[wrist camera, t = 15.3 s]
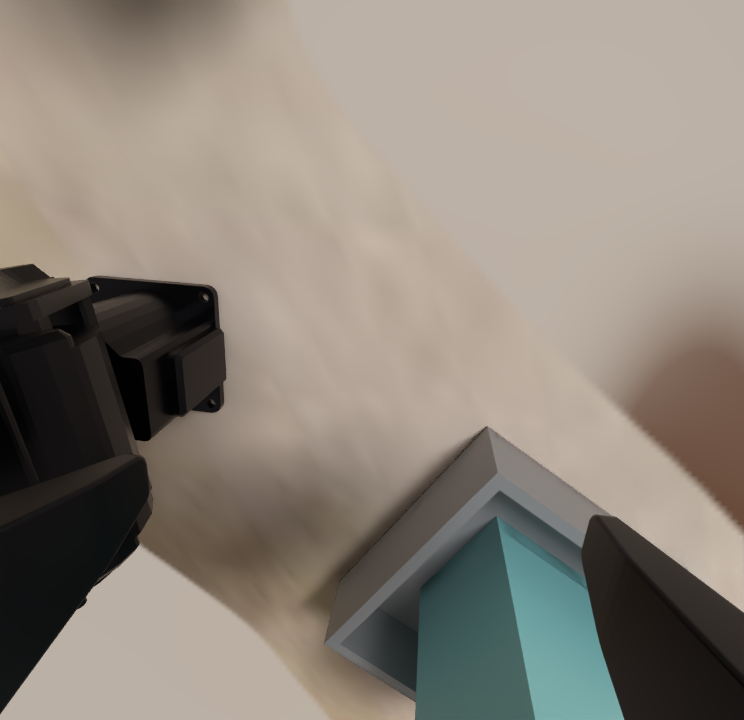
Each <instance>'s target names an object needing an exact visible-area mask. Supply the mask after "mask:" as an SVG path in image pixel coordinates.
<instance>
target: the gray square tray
mask: <svg viewBox="0 0 744 720" xmlns="http://www.w3.org/2000/svg"><path fill="white" fill-rule="evenodd" d="M595 514H599V515H607V516H611V515H610V514H609V513H607V512H606V511H604V510H603V509H602V508H600V507H599V506H598V505H596V504H595V503H593V502H592V501H591V500H589V499H588V498H586V497H585V496H584V495H582V494H581V493H579V492H578V491H577V490H575V489H574V488H573V487H571V486H570V485H568V484H567V483H566V482H564V481H563V480H561V479H560V478H559V477H557V476H556V475H554V474H553V473H552V472H550V471H549V470H548V469H546V468H545V467H543V466H542V465H541V464H539V463H538V462H536V461H535V460H534V459H532V458H531V457H529V456H528V455H527V454H525V453H524V452H523V451H521V450H520V449H518V448H517V447H516V446H514V445H513V444H511V443H510V442H509V441H507V440H506V439H504V438H503V437H502V436H500V435H499V434H498V433H496V432H495V431H493V430H492V429H491V428H489V427H488V426H487V427H486V428H485V429H484V430H483V432H482V433H481V434H480V435H479V436H478V437H477V438H476V439H475V440H474V441H473V442H472V443H471V444H470V445H469V446H468V447H467V448H466V449H465V450H464V451H463V453H462V454H461V455H460V456H459V457H458V458H457V459H456V460H455V461H454V462H453V463H452V464H451V465H450V466H449V467H448V468H447V469H446V470H445V471H444V472H443V474H442V475H441V476H440V477H439V478H438V479H437V480H436V481H435V482H434V483H433V484H432V485H431V486H430V487H429V488H428V489H427V490H426V491H425V492H424V493H423V495H422V496H421V497H420V498H419V499H418V500H417V501H416V502H415V503H414V504H413V505H412V506H411V507H410V508H409V509H408V510H407V511H406V512H405V513H404V514H403V516H402V517H401V518H400V519H399V520H398V521H397V522H396V523H395V524H394V525H393V526H392V527H391V528H390V529H389V530H388V531H387V532H386V533H385V534H384V535H383V537H382V538H381V539H380V540H379V541H378V542H377V543H376V544H375V545H374V546H373V547H372V548H371V549H370V550H369V551H368V552H367V553H366V554H365V555H364V556H363V558H362V559H361V560H360V561H359V562H358V563H357V564H356V565H355V566H354V567H353V568H352V569H351V570H350V571H349V572H348V573H347V574H346V575H345V576H344V577H343V579H342V580H341V581H340V582H339V585H338V589H337V593H336V597H335V601H334V605H333V609H332V613H331V617H330V621H329V625H328V629H327V633H326V637H325V641H324V645H326V646H328V647H329V648H331V649H332V650H334V651H335V652H337V653H339V654H340V655H342V656H343V657H345V658H347V659H348V660H350V661H351V662H353V663H354V664H356V665H358V666H359V667H361V668H362V669H364V670H365V671H367V672H369V673H370V674H372V675H373V676H375V677H376V678H378V679H380V680H381V681H383V682H384V683H386V684H388V685H389V686H391V687H392V688H394V689H395V690H397V691H399V692H400V693H402V694H403V695H405V696H406V697H408V698H410V699H411V700H413V701H414V702H416V684H417V659H418V633H419V607H420V588H421V587H422V586H423V585H424V584H425V583H426V582H427V581H428V580H429V579H430V578H431V577H432V576H434V575H435V574H436V573H437V572H438V571H439V570H440V569H441V568H442V567H443V566H444V565H445V564H446V563H447V562H448V561H449V560H450V559H452V558H453V557H454V556H455V555H456V554H457V553H458V552H459V551H460V550H461V549H462V548H463V547H464V546H465V545H466V544H467V543H468V542H470V541H471V540H472V539H473V538H474V537H475V536H476V535H477V534H478V533H479V532H480V531H481V530H482V529H483V528H484V527H485V526H486V525H488V524H489V523H490V522H491V521H492V520H493V519H494V518H495V517H496V516H497V517H499V518H500V519H502V520H503V521H505V522H506V523H507V524H509V525H510V526H512V527H513V528H515V529H516V530H518V531H519V532H520V533H522V534H523V535H525V536H526V537H528V538H529V539H531V540H532V541H533V542H535V543H536V544H538V545H539V546H541V547H542V548H544V549H545V550H546V551H548V552H549V553H551V554H552V555H554V556H555V557H556V558H558V559H559V560H561V561H562V562H564V563H565V564H567V565H568V566H569V567H571V568H572V569H574V570H575V571H577V572H578V573H580V574H581V575H582V576H584V577H585V575H584V570H583V565H582V559H581V551H582V546H583V542H584V538H585V534H586V531H587V527H588V523H589V520H590V518H591V516H593V515H595Z"/></svg>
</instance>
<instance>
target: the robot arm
mask: <svg viewBox="0 0 744 720" xmlns="http://www.w3.org/2000/svg"><path fill="white" fill-rule="evenodd" d="M95 283H97V284H98V286H99V290H97V289H96V287H95ZM203 292H206V293H207V294H208V296H209V300H205V299H204V298H203ZM225 380H226V364H225V346H224V333H223V332H222V330H221V329H220V324H219V307H218V295H217V292H216V290H215V289H214V288H213V287H212V286H209V285H203V284H191V283H179V282H168V281H156V280H144V279H132V278H120V277H109V276H93V277H89V278H88V279H86V280H78V281H70V278H54V277H49V276H48V275H47V274H45V273H44V272H43V271H41V270H40V269H39V268H37V267H36V266H35V265H33V264H28V265H18V266H12V267H6V268H0V714H1V712H2V711H3V710H4V708H5V707H6V706H7V704H8V703H9V701H10V700H11V698H12V697H13V696H14V695H15V693H16V692H17V690H18V689H19V688H20V686H21V685H22V684H23V682H24V681H25V680H26V678H27V677H28V675H29V674H30V673H31V671H32V670H33V669H34V667H35V666H36V664H37V663H38V662H39V660H40V659H41V657H42V656H43V655H44V653H45V652H46V651H47V649H48V648H49V647H50V645H51V644H52V643H53V641H54V640H55V638H56V637H57V636H58V634H59V633H60V632H61V630H62V629H63V627H64V626H65V625H66V623H67V622H68V621H69V619H70V618H71V617H72V615H73V614H74V612H75V611H76V610H77V609H79V608H81V607H82V606H84V604H85V603H86V601H87V599H86V596H87V595H88V593H89V592H90V591H91V589H92V588H93V587H94V586H96V585H97V584H98V583H100V582H101V581H102V580H103V579H104V578H106V577H107V576H108V575H109V574H110V573H111V572H112V571H113V570H115V569H116V568H117V567H119V566H120V565H121V564H122V563H123V562H124V561H125V560H126V559H127V558H128V557H129V556H130V555H131V554H132V553H133V552H134V551H135V550H136V548H137V547H138V546H139V538H138V535H139V534H140V532H141V531H142V529H143V527H144V526H145V524H146V522H147V521H148V519H149V517H150V516H151V514H152V505H153V497H152V494H151V488H152V486H151V483H150V479H149V476H148V471H147V463H146V460H145V458H144V457H142V456H140V455H139V452H138V448H137V445H136V442H135V440H140V441H149V440H150V439H151V438H152V437H153V436H154V435H156V434H157V433H158V432H159V431H160V430H161V429H163V428H164V427H165V426H166V425H167V424H168V423H170V422H171V421H172V420H173V419H174V418H175V417H177V416H178V417H183V416H185V415H186V414H187V413H188V412H189V411H191V410H194V411H203V412H217V411H219V410H220V409H221V408H222V406H223V405H224V391H223V381H225ZM210 399H212V400H214V401H215V402H216V405H214V404H212V403H211V401H210ZM581 559H582V565H583V570H584V575H585V579H586V584H587V589H588V593H589V598H590V603H591V608H592V612H593V617H594V622H595V626H596V631H597V635H598V639H599V643H600V646H601V650H602V653H603V656H604V659H605V662H606V665H607V669H608V672H609V675H610V678H611V681H612V684H613V687H614V690H615V693H616V696H617V699H618V702H619V705H620V708H621V711H622V714H623V717H624V720H744V612H742V611H741V610H740V609H738V608H737V607H736V606H734V605H733V604H732V603H730V602H729V601H728V600H726V599H725V598H724V597H722V596H721V595H720V594H718V593H717V592H716V591H714V590H713V589H712V588H710V587H709V586H708V585H706V584H705V583H704V582H702V581H701V580H700V579H698V578H697V577H696V576H694V575H693V574H692V573H690V572H689V571H688V570H686V569H685V568H684V567H682V566H681V565H680V564H678V563H677V562H676V561H674V560H673V559H672V558H670V557H669V556H668V555H666V554H665V553H664V552H662V551H661V550H660V549H658V548H657V547H656V546H654V545H653V544H652V543H650V542H649V541H648V540H646V539H645V538H644V537H642V536H641V535H640V534H638V533H637V532H636V531H634V530H633V529H632V528H630V527H629V526H628V525H626V524H625V523H624V522H622V521H621V520H620V519H618V518H617V517H614V516H607V515H599V514H595V515H593V516H591V518H590V520H589V523H588V527H587V531H586V534H585V538H584V542H583V546H582V551H581Z"/></svg>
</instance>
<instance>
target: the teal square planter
mask: <svg viewBox="0 0 744 720" xmlns="http://www.w3.org/2000/svg"><path fill="white" fill-rule="evenodd" d="M415 720H624V717H623V714H622V711H621V708H620V705H619V702H618V699H617V696H616V693H615V690H614V687H613V684H612V681H611V678H610V675H609V672H608V669H607V665H606V662H605V659H604V656H603V653H602V650H601V646H600V643H599V639H598V635H597V631H596V626H595V622H594V617H593V612H592V608H591V603H590V598H589V593H588V589H587V584H586V579H585V577H584V576H582V575H581V574H580V573H578V572H577V571H575V570H574V569H572V568H571V567H569V566H568V565H567V564H565V563H564V562H562V561H561V560H559V559H558V558H556V557H555V556H554V555H552V554H551V553H549V552H548V551H546V550H545V549H544V548H542V547H541V546H539V545H538V544H536V543H535V542H533V541H532V540H531V539H529V538H528V537H526V536H525V535H523V534H522V533H520V532H519V531H518V530H516V529H515V528H513V527H512V526H510V525H509V524H507V523H506V522H505V521H503V520H502V519H500V518H499V517H497V516H496V517H495V518H494V519H493V520H492V521H491V522H490V523H489V524H488V525H486V526H485V527H484V528H483V529H482V530H481V531H480V532H479V533H478V534H477V535H476V536H475V537H474V538H473V539H472V540H471V541H470V542H468V543H467V544H466V545H465V546H464V547H463V548H462V549H461V550H460V551H459V552H458V553H457V554H456V555H455V556H454V557H453V558H452V559H450V560H449V561H448V562H447V563H446V564H445V565H444V566H443V567H442V568H441V569H440V570H439V571H438V572H437V573H436V574H435V575H434V576H432V577H431V578H430V579H429V580H428V581H427V582H426V583H425V584H424V585H423V586H422V587H421V588H420V607H419V633H418V659H417V684H416V710H415Z"/></svg>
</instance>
